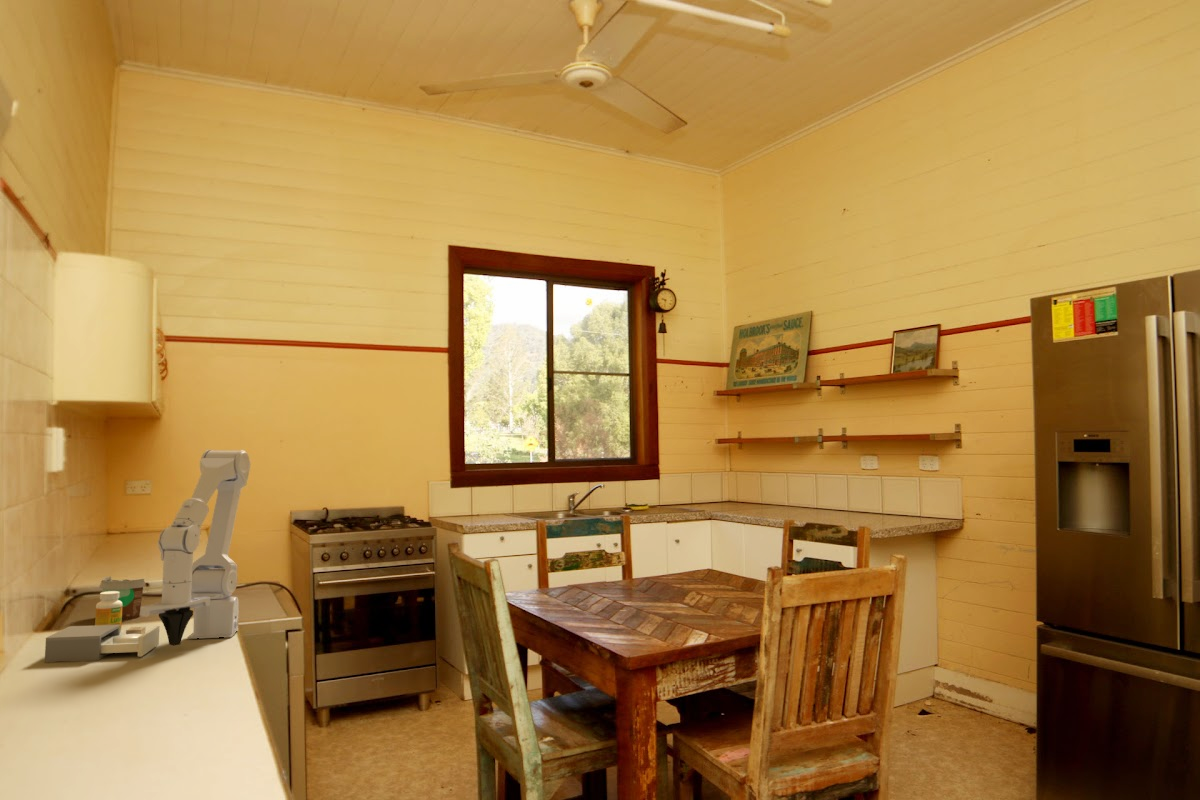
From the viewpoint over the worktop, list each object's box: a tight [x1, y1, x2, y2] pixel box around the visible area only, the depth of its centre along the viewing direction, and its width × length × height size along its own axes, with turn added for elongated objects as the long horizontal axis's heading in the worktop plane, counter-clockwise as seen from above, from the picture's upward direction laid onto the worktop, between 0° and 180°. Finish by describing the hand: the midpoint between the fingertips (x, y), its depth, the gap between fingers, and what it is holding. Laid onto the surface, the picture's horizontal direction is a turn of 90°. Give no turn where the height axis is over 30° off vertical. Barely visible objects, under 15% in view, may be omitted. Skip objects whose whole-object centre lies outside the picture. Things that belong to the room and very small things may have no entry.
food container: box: [99, 576, 146, 621], centre depth 206 cm, size 12×6×10 cm, turn 73°
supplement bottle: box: [94, 591, 123, 634], centre depth 189 cm, size 5×5×10 cm
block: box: [125, 626, 147, 635], centre depth 178 cm, size 3×3×4 cm
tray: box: [101, 625, 160, 657], centre depth 171 cm, size 10×11×4 cm
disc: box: [113, 633, 142, 644], centre depth 171 cm, size 6×6×2 cm
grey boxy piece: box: [44, 624, 121, 663], centre depth 169 cm, size 10×11×5 cm
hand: (174, 644), depth 173 cm, fingers closed
